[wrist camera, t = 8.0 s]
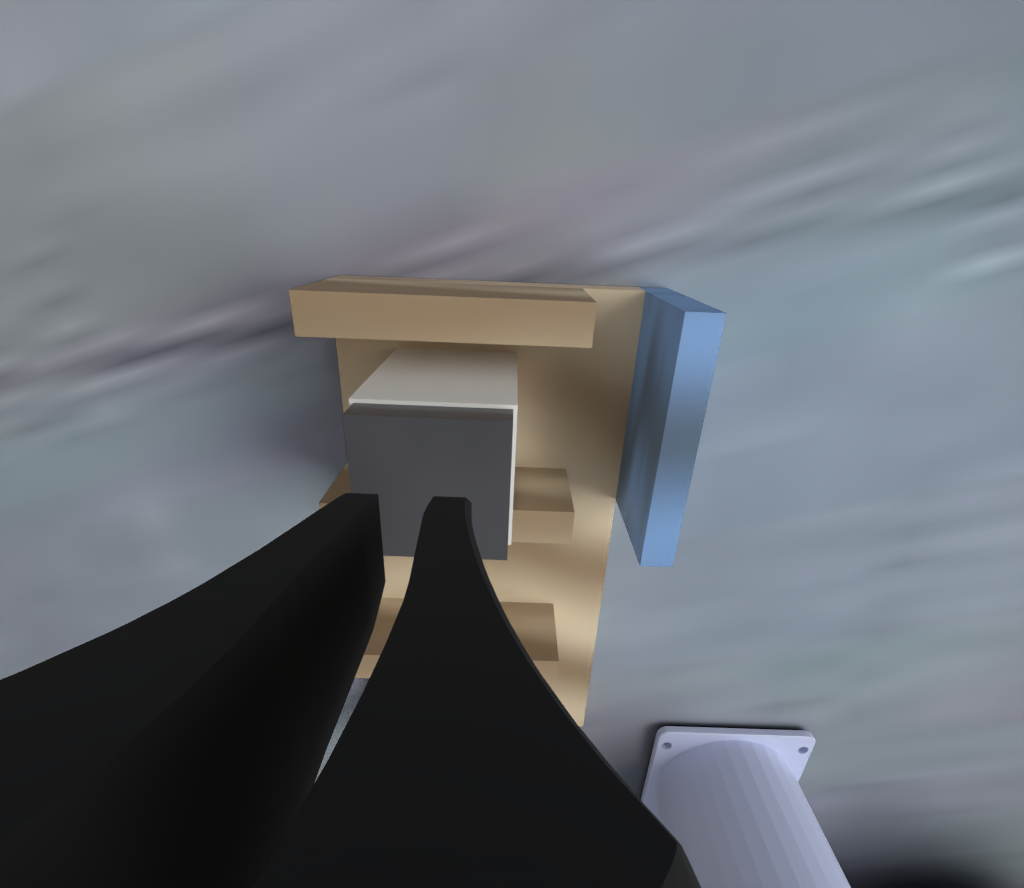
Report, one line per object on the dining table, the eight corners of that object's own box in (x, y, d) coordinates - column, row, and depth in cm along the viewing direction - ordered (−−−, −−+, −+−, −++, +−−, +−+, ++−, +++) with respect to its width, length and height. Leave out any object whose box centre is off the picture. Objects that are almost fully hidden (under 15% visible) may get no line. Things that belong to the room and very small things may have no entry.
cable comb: (600, 708, 25) (619, 817, 20) (382, 701, 25) (352, 809, 20) (668, 288, 16) (726, 313, 12) (339, 275, 16) (270, 295, 12)
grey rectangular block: (512, 460, 18) (510, 563, 13) (403, 456, 18) (353, 557, 12) (517, 352, 16) (517, 417, 11) (396, 347, 16) (337, 410, 11)
